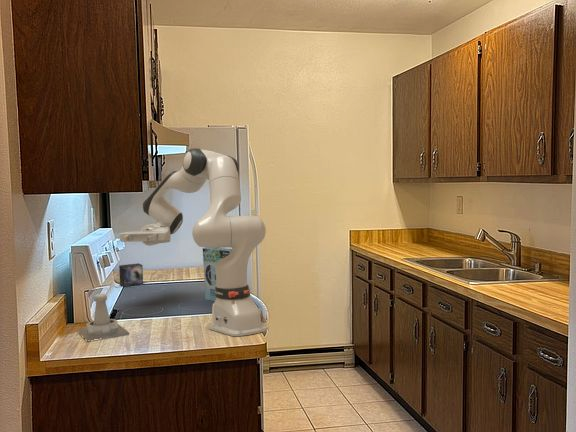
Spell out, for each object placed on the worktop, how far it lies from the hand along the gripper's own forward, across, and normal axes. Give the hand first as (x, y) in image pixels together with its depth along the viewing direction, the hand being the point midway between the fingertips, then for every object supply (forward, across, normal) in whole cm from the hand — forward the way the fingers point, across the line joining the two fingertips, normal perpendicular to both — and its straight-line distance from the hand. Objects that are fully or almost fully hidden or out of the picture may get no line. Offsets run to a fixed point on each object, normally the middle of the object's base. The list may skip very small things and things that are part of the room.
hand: (137, 238), depth 221 cm
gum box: (-19, +28, +30) cm, 46 cm away
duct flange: (+30, -2, +30) cm, 42 cm away
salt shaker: (+30, -2, +29) cm, 42 cm away
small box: (-58, -30, +30) cm, 72 cm away
